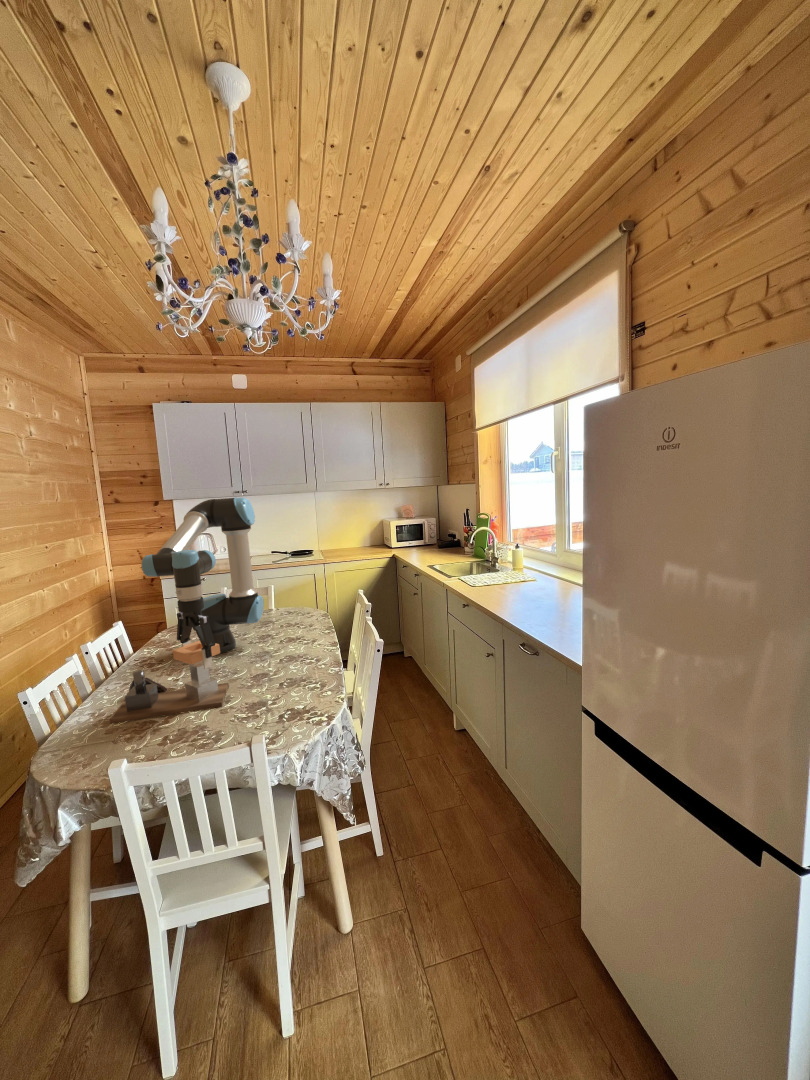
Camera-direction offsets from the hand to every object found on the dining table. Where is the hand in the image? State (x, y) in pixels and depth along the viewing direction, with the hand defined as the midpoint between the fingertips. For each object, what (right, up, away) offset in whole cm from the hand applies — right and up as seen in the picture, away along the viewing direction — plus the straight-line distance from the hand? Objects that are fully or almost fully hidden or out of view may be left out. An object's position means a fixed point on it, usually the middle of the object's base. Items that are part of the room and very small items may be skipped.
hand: (198, 664), depth 144 cm
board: (-8, -13, 0) cm, 15 cm away
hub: (+1, -11, +2) cm, 11 cm away
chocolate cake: (-20, -13, +9) cm, 26 cm away
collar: (0, +3, 0) cm, 3 cm away
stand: (-17, -12, -2) cm, 21 cm away
